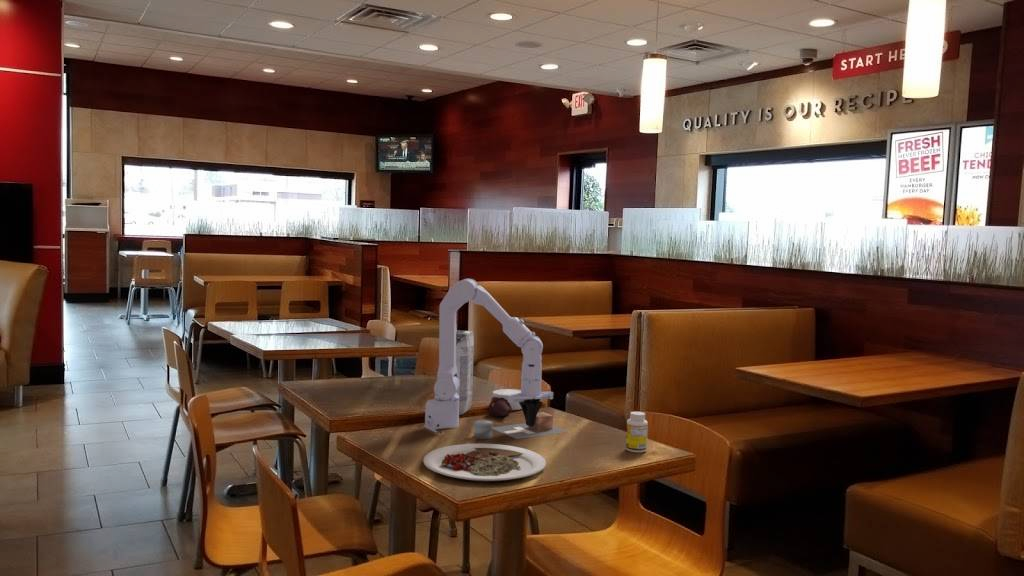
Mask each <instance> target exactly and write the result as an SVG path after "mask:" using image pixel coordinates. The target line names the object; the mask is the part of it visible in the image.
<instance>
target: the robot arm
mask: <svg viewBox="0 0 1024 576" xmlns="http://www.w3.org/2000/svg"><path fill="white" fill-rule="evenodd" d="M472 300H473V301H472ZM470 301H472V304H474V305H478V306H482V307H484V309H486V310H487V311H488V312H489V313H490V314H491V315H492V316H493V317H494V318H495V319H496V320H497V321H498V322H500V323H501V325H502V332H503V333H504V334H505V335H506V336H507V337H508V338H509V339H510V340H511V341H512V343H513V344H515V345H516V346H517V347H519V348H521V353H522V362H521V379H520V380H521V384H520V385H521V388H520V390H521V393H518V394H514V395H508V402H509V403H514V402H519V404H520V406H521V408H522V409H521V410H522V413H523V416H524V421H525V423H526V425H528V426H533V425H534V422H535V418H536V415H537V413H539V410H540V409H541V407H542V406H543V401H541V400H553V399H554V392H553V391H542V376H543V375H542V374H543V372H542V371H543V370H542V369H543V367H542V366H543V363H542V360H543V358H542V354H543V350H544V349H543V348H544V344H543V342H542V340H541V338H540V337H539V336H537V335H536V332H535V331H531V330H530V329H529V328H528V327H527V326H526V325H525V324H524V322H525V320H523V319H522V318H520V319H519V317H516V316H511V315H509V313H508V312H507V311H506V310H505V309H504V308H503V307H502V305H500V304H499V303H498V301H497V299H495V298H494V297H493V296H492V295H491V293H489V292H488V290H486V288H485V287H483V286H482V285H479V284H478V282H477V281H476V280H475V279H474V278H464V279H462V280H459V281H456V282H455V283H454V284H453V285H452V286H450V288H449V289H448V292H447V293H446V295H444V298H443V299H442V301H441V302H440V303H439V320H438V321H439V322H438V323H439V328H438V329H439V330H438V331H439V333H438V335H439V337H438V339H439V341H438V342H439V344H438V345H439V347H438V348H439V352H438V354H439V359H438V361H439V364H438V369H437V378H436V380H435V381H436V382H435V383H434V387H433V391H434V394H435V395H434V398H433V399H429V400H427V401H426V403H425V408H424V409H425V410H424V412H425V413H424V425H423V428H425V429H427V430H430V431H431V432H433V433H436V434H439V433H441V431H440V429H453V428H458V427H459V426H460V424H459V423H460V420H459V419H460V415H459V398H460V397H459V395H458V394H457V391H458V390H459V388H460V379H459V377H458V374H457V366H456V329H457V311H458V310H459V309H460V308H461V307H462V306H463V305H465V304H466V303H468V302H470Z"/></svg>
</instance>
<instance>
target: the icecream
mask: <svg viewBox="0 0 1024 576" xmlns="http://www.w3.org/2000/svg"><path fill="white" fill-rule="evenodd" d="M511 411H513V410H512V407H511V405H510V403H509V402H508V400H506V399H504V398H503V397H501V398H498V397H492V398H491V401H490V402H489V404H488V413H489V414H490V416H491V417H507V416H509V415H510V414H511V413H512V412H511Z"/></svg>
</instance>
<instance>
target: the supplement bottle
mask: <svg viewBox="0 0 1024 576" xmlns="http://www.w3.org/2000/svg"><path fill="white" fill-rule="evenodd" d="M648 424H649V423H648V421H647V419H646V413H645V412H642V411H630V414H629V419H627V420H626V439H625V441H626V442H625V449H626V450H627V451H629V452H630V453H637V454H639V453H644V452H646V451H647V450H648V449H647V448H648V428H649V427H648V426H649V425H648Z"/></svg>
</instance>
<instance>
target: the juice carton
mask: <svg viewBox="0 0 1024 576" xmlns="http://www.w3.org/2000/svg"><path fill="white" fill-rule="evenodd" d="M474 346H475V343H474V331H472V330H463V329H462V330H460V329H457V328H456V366H457V374H458V377H459V379H460V388H459V390H458V391H457V394H458V395H459V397H460V398H459V416H461V415H465V413H466V412H468V411H470V410H471V406H472V402H473V401H472V400H473V386H474V385H473V381H474V380H473V377H474V351H475V350H474ZM469 409H470V410H469Z"/></svg>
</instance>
